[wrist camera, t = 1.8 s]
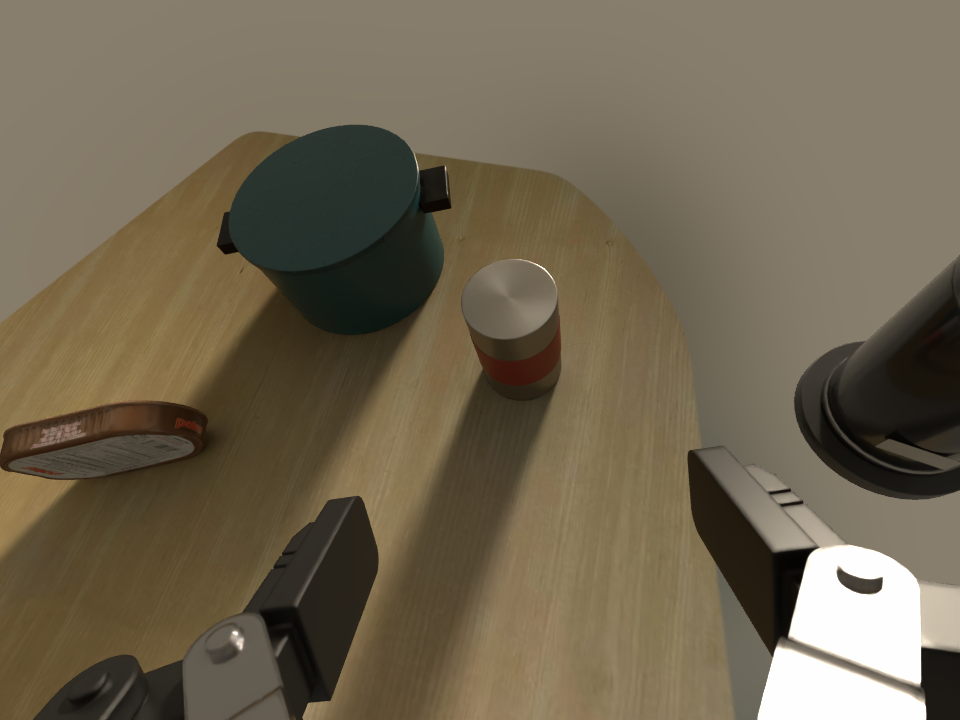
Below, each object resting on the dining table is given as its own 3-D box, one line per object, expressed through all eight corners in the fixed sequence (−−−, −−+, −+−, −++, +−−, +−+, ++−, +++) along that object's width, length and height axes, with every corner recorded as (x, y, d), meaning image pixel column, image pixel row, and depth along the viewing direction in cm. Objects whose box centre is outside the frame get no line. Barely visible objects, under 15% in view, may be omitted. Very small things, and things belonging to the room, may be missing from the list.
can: (554, 326, 41) (549, 250, 32) (568, 394, 38) (566, 330, 29) (481, 339, 42) (456, 267, 33) (488, 406, 39) (464, 347, 30)
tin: (229, 423, 42) (156, 384, 35) (225, 456, 41) (149, 423, 33) (76, 458, 43) (-25, 427, 36) (67, 492, 42) (-41, 467, 34)
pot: (460, 189, 51) (436, 102, 42) (473, 317, 43) (448, 242, 34) (281, 226, 53) (224, 151, 44) (262, 354, 45) (188, 293, 36)
